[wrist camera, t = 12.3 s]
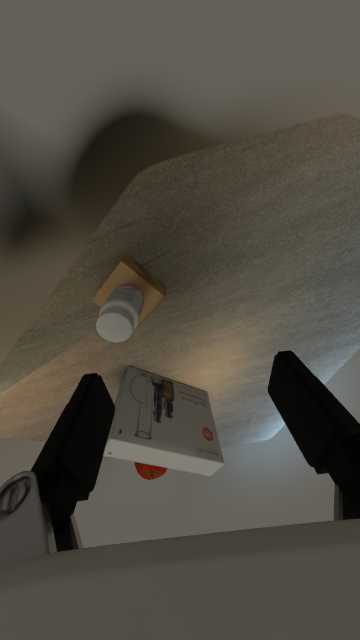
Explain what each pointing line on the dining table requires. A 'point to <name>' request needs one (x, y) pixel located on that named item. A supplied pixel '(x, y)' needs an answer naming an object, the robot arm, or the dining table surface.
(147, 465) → the apple
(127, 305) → the pill bottle
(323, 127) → the dining table surface
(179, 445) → the skincare box
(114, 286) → the block
